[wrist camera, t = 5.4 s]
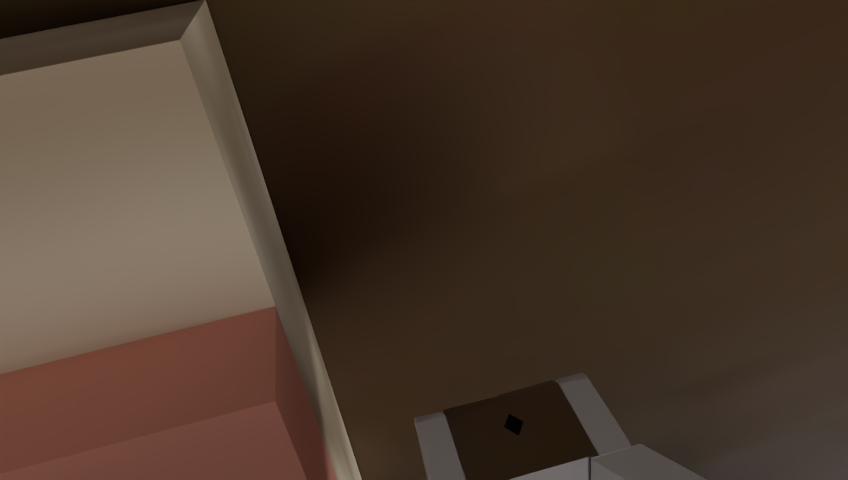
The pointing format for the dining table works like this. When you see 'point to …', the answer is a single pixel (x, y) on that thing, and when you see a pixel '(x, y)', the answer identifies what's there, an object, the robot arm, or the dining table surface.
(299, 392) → the pink tray
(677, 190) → the dining table surface
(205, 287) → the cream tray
